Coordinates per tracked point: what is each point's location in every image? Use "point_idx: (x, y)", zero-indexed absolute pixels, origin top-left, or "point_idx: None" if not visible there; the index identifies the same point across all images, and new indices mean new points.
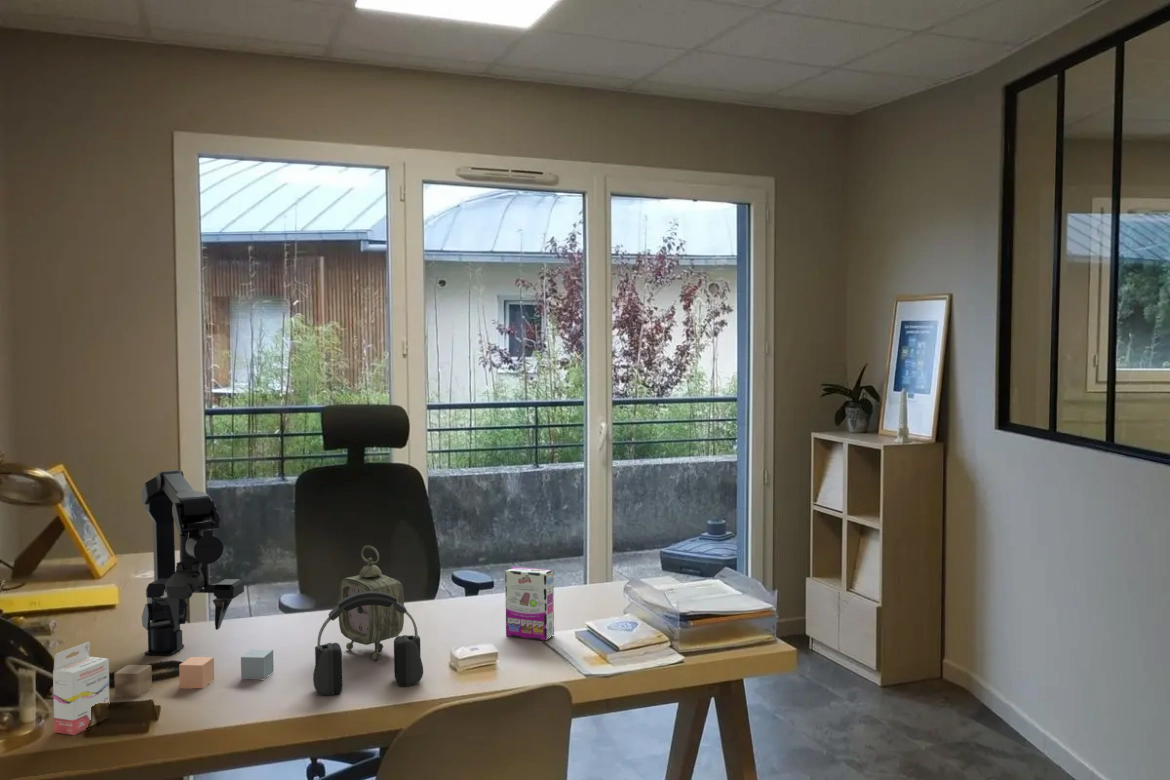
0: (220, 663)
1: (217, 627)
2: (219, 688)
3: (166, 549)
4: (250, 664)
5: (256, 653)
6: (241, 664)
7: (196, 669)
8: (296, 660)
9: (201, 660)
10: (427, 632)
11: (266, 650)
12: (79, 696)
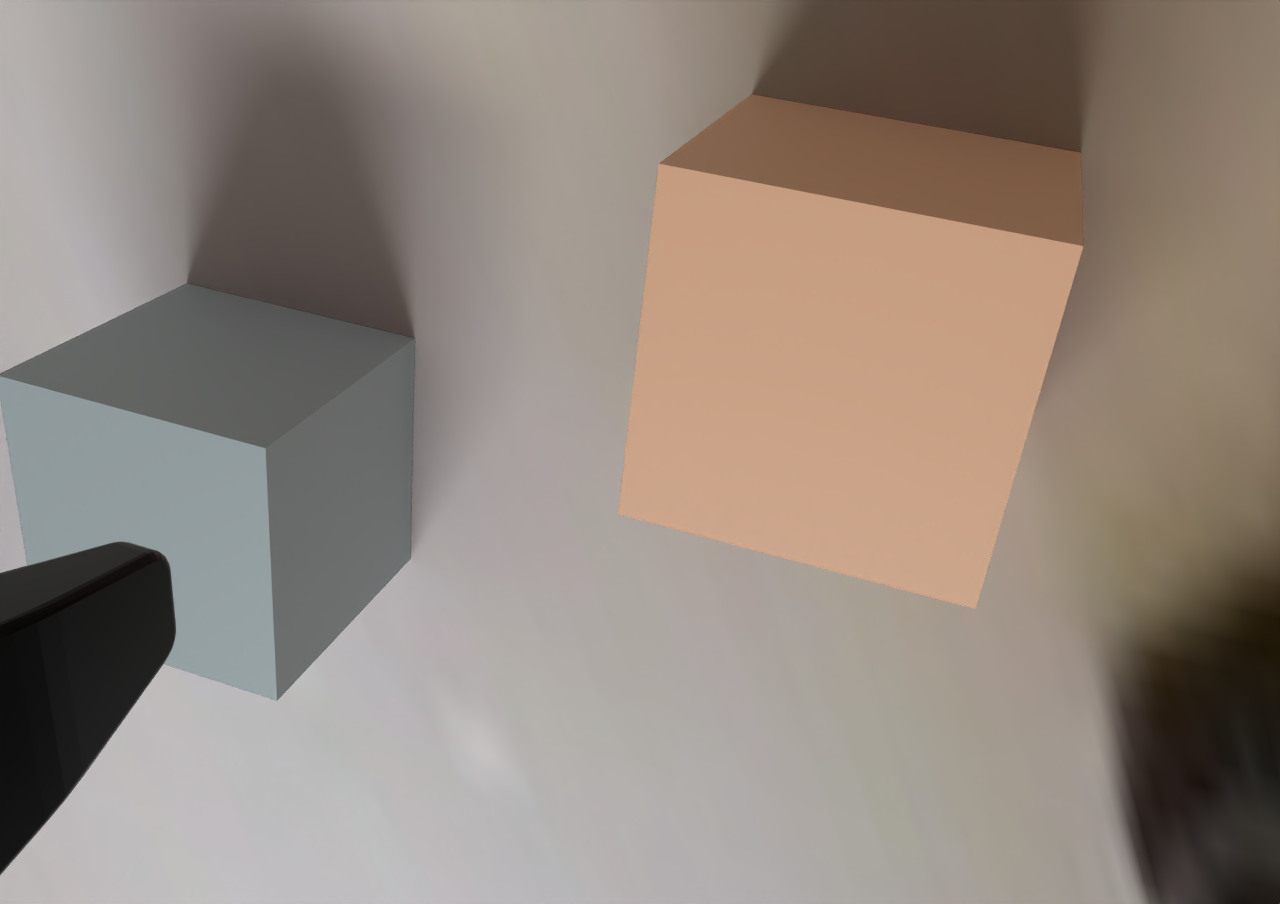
0: (802, 855)
1: (79, 556)
2: (549, 79)
3: None
4: (210, 380)
5: (146, 540)
6: (314, 404)
7: (779, 167)
8: (148, 734)
9: (755, 410)
10: None
11: None
12: None
